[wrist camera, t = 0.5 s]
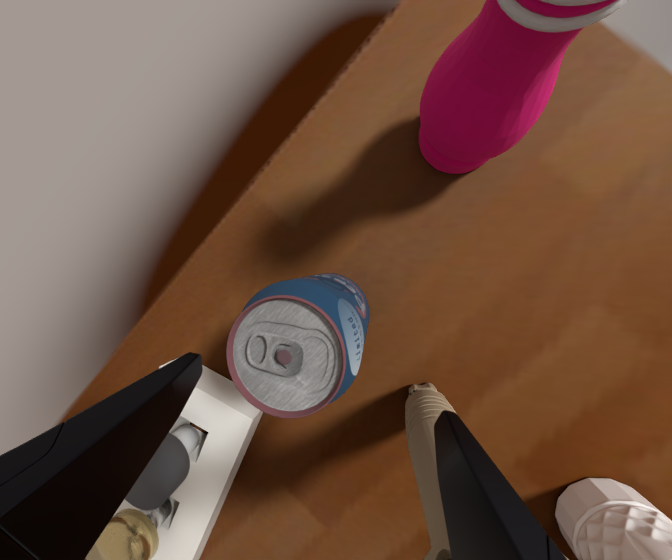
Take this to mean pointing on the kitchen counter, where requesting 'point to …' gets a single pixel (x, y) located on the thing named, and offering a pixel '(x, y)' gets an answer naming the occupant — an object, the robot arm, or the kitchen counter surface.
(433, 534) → the handle
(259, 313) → the soda can
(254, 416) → the control plate
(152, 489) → the knob
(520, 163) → the kitchen counter surface
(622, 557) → the white cup
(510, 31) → the pepper mill
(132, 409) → the robot arm
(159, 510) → the knob middle
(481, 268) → the kitchen counter surface
